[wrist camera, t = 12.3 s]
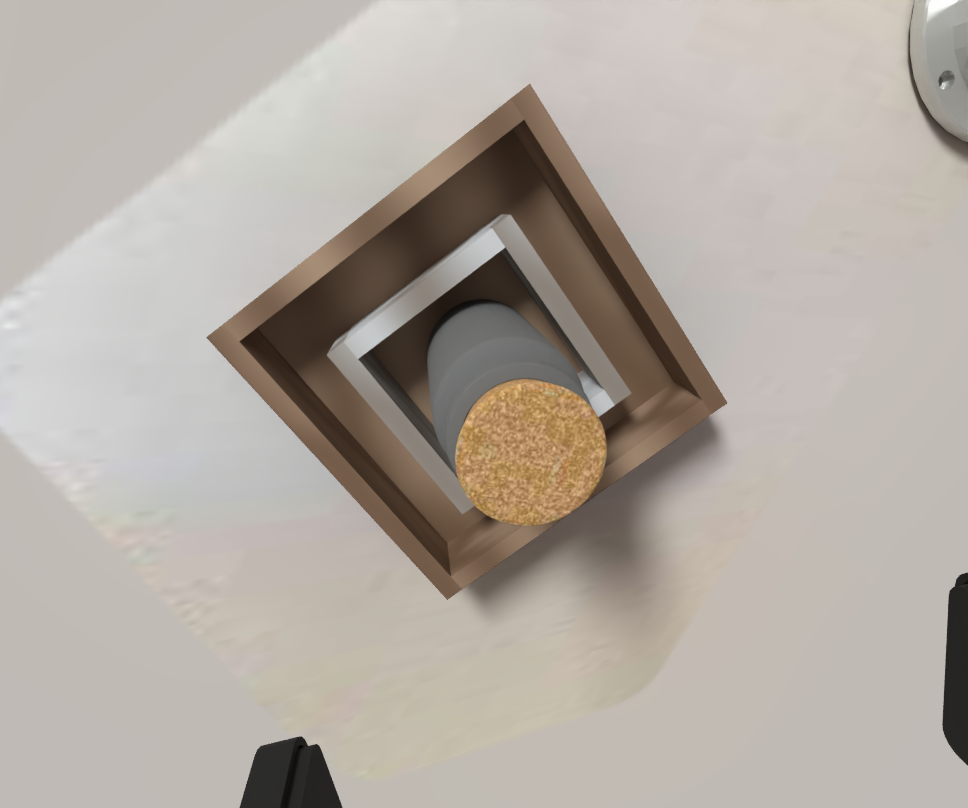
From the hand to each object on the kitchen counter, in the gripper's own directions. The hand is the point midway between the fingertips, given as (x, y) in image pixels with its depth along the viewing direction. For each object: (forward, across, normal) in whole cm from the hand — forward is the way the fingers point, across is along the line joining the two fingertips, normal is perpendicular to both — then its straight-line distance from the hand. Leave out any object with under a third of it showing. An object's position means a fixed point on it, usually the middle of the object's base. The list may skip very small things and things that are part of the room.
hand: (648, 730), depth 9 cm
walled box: (+26, 0, 0) cm, 26 cm away
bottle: (+26, 0, 0) cm, 26 cm away
